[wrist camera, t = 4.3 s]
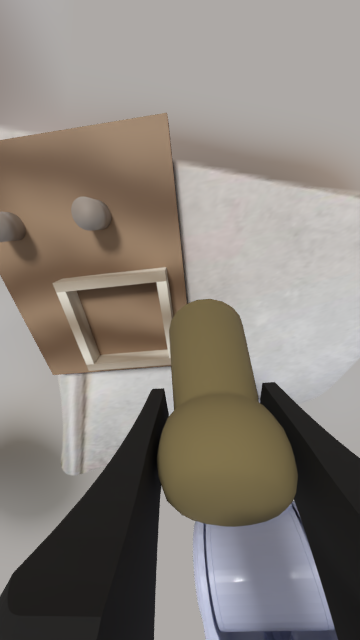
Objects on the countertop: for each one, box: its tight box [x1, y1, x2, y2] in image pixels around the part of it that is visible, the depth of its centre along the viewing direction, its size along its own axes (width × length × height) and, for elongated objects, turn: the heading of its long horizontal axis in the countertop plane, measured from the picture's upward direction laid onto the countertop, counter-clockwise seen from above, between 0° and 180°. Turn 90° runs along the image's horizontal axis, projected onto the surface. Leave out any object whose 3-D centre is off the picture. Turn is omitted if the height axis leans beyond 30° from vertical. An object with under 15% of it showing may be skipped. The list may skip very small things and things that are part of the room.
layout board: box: [0, 113, 187, 375], centre depth 17 cm, size 20×16×3 cm
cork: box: [157, 299, 298, 527], centre depth 11 cm, size 6×6×11 cm
